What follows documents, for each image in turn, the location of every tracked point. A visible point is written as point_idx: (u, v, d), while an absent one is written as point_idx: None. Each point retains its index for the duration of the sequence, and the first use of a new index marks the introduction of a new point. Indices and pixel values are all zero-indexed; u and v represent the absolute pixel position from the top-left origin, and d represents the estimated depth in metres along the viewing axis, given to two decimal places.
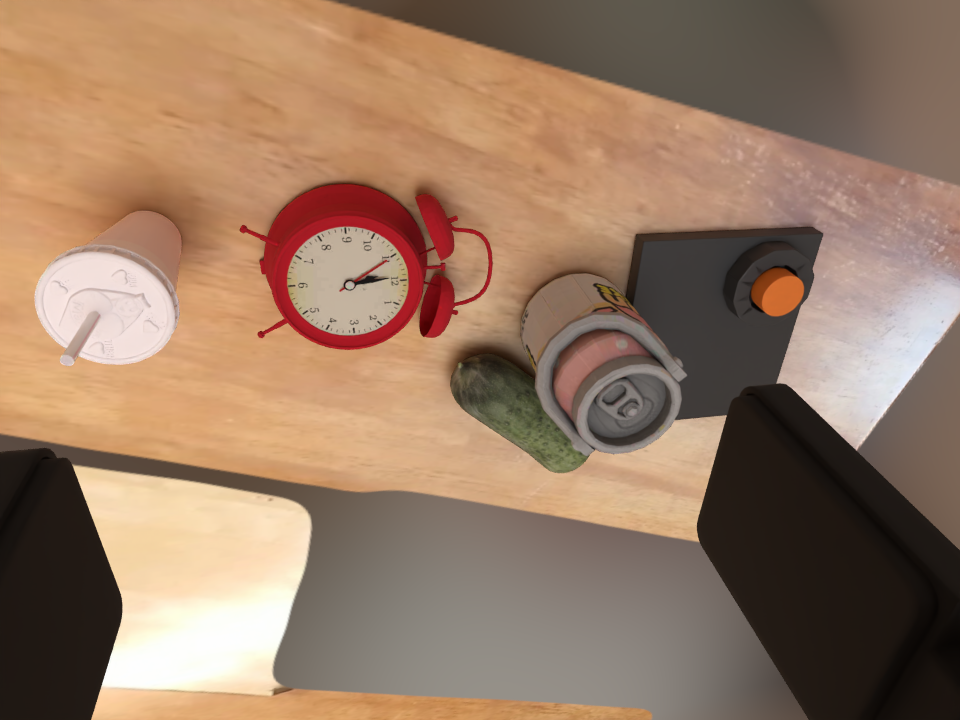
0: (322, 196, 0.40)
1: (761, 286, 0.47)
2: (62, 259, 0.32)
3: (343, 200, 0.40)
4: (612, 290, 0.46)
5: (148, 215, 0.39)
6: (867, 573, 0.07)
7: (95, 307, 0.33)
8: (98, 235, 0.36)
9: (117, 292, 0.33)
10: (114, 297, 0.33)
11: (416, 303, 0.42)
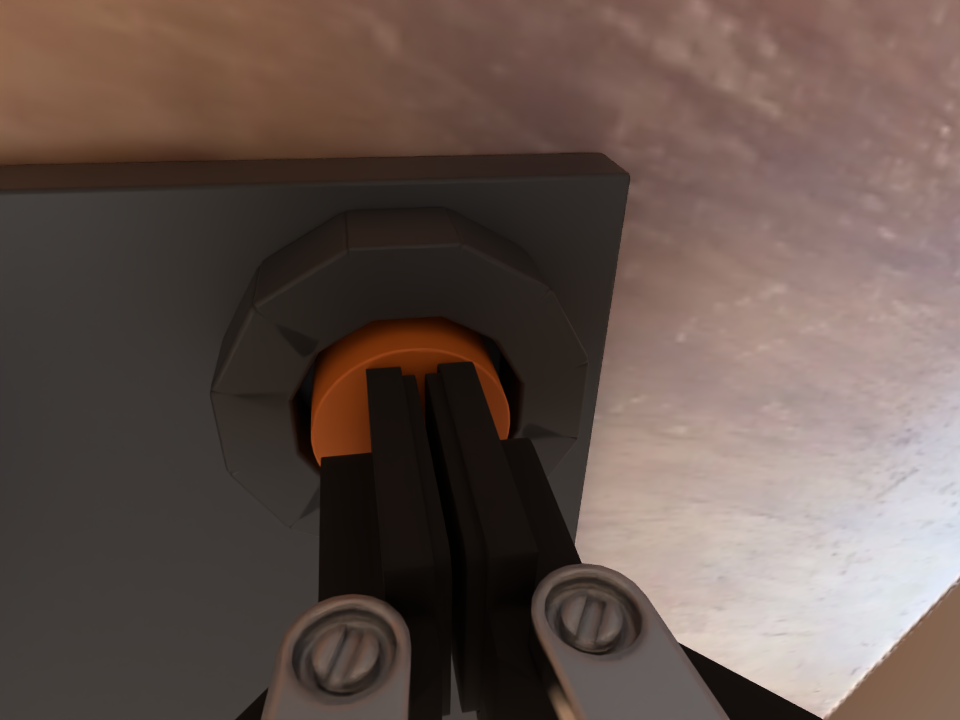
0: None
1: (316, 390, 0.11)
2: None
3: None
4: None
5: None
6: (456, 537, 0.08)
7: None
8: None
9: None
10: None
11: None
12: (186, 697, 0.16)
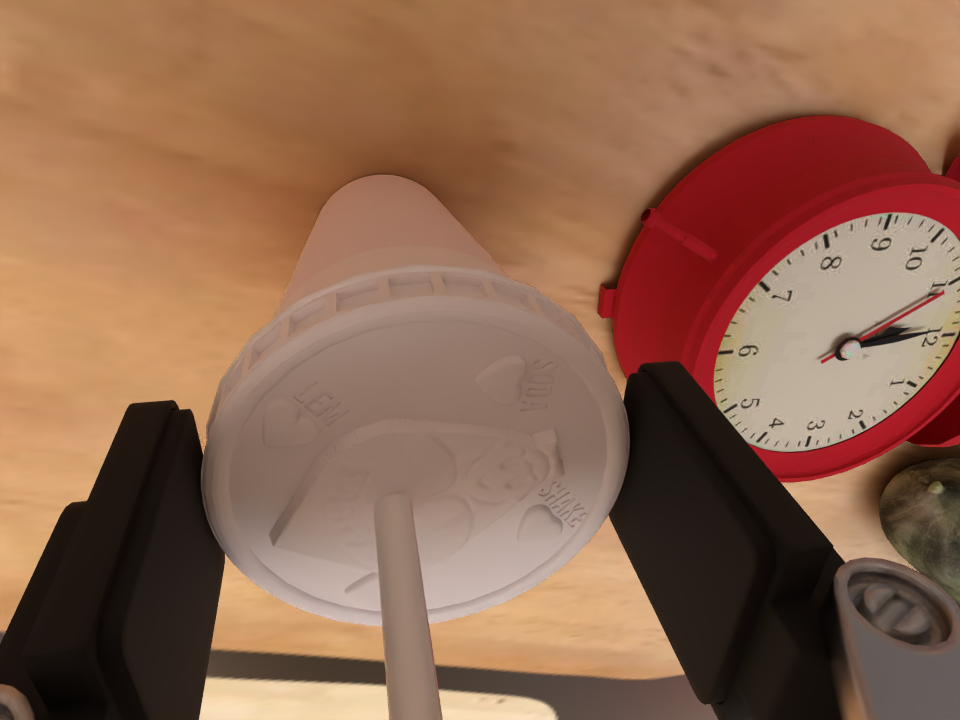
0: (801, 141, 0.17)
1: None
2: (323, 325, 0.08)
3: (858, 149, 0.17)
4: None
5: (408, 185, 0.16)
6: (723, 532, 0.08)
7: (403, 483, 0.09)
8: (330, 233, 0.13)
9: (480, 430, 0.09)
10: (460, 447, 0.10)
11: None
12: None
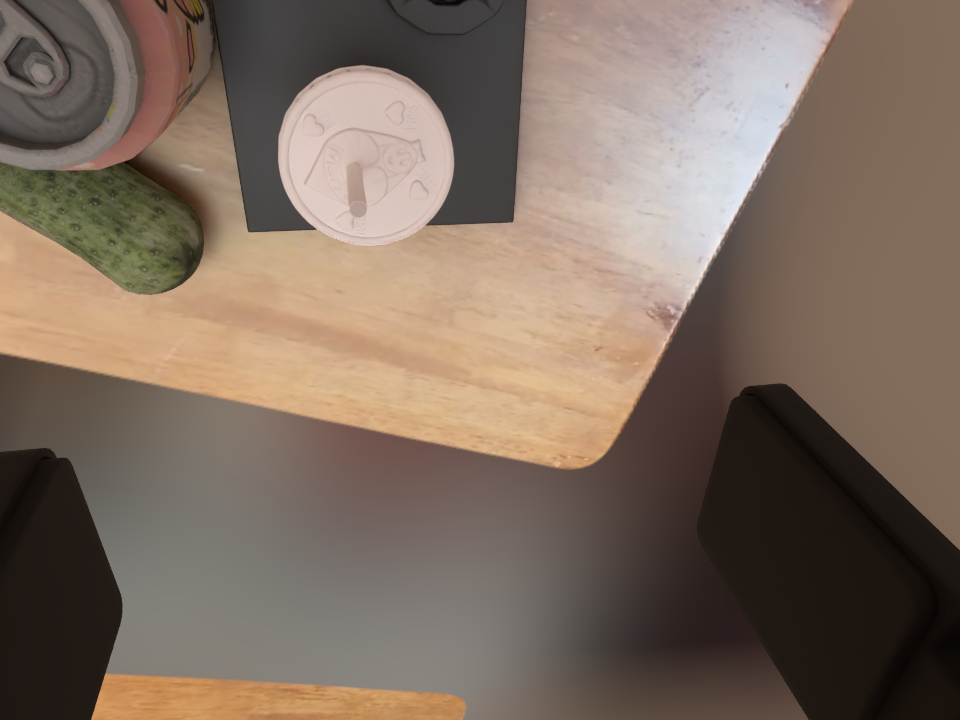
0: None
1: None
2: (326, 81, 0.22)
3: None
4: None
5: None
6: (867, 573, 0.07)
7: (357, 156, 0.24)
8: None
9: (387, 135, 0.24)
10: (381, 144, 0.24)
11: None
12: None
